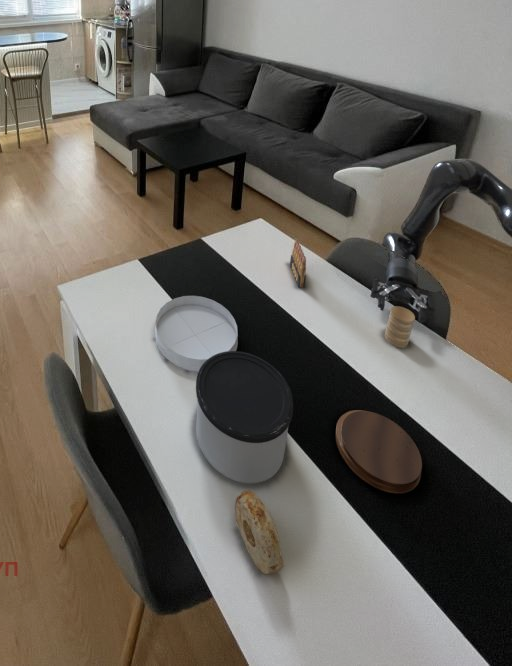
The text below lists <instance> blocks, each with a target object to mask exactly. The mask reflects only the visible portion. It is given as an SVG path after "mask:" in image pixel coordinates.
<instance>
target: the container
mask: <svg viewBox="0 0 512 666" xmlns="http://www.w3.org/2000/svg"><path fill="white" fill-rule="evenodd" d="M195 394H196V395H195V396H196V402H197V403H196V424H195V425H196V427H195V429H196V431H195V432H196V438H197V443H198V445H199V449H200V450H201V452H202V454H203V456H204V458H205V459H206V460H207V461H208V463H209V464H210V465H211V467H213V468H214V469H215V470H216V471H217V472H219V473H220V474H221V475H223V476H224V477H225V478H228V479H230V480H233V481H235V482H238V483H243V484H258V483H263V482H266V481H267V480H270V479H271V478H273V476H275V475H276V474H277V472H278V471H279V470H280V469H281V466H282V465H283V461H284V458H285V451H286V447H287V446H286V444H287V440H288V439H287V438H288V431H289V426H290V424H291V422H292V421H291V420H292V418H293V412H294V398H293V394H292V392H291V388H290V386H289V384H288V382H287V381H286V379H285V377H284V376H283V375H282V374H281V373H280V372H279V370H278V369H277V368H276V367H274V365H272V364H271V363H269V362H268V361H266V360H265V359H264V358H262V357H259V356H258V355H254V354H252V353H250V352H245V351H240V350H239V351H238V350H236V351H227V352H222V353H218V354H216V355H214V356H212V357H210V358H209V359H208V360H206V361H205V362H204V364H203V365H202V366H201V368H200V370H199V372H197V375H196V380H195Z"/></svg>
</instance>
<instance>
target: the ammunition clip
mask: <svg viewBox="0 0 512 666" xmlns="http://www.w3.org/2000/svg"><path fill="white" fill-rule="evenodd" d="M291 252H292V253H291V254H290V260H289V267H290V270H291V273H292V275H293V278H294V280H295V283H296V285H297V288H303V289H305V285H306V278H307V275H306V272H307V267H306V266H307V258H306V256H305V252H304V250H303V248H302V246H301V245H300V242H299V239H298V238H295V240H294V244H293V247H292V251H291Z"/></svg>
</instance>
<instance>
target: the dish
mask: <svg viewBox="0 0 512 666" xmlns="http://www.w3.org/2000/svg"><path fill="white" fill-rule="evenodd" d="M154 337H155V343H156V345H157V347H158V349H159V351H160V353H161V354H162V355H163V356H164V357H165V359H166V360H168V361H169V362H171V363H172V364H173V365H175V367H179V368H181V369H183V370H185V371H189V372H196V373H198V372H199V370H200V368H201V366H202V365H203V364H204V362H205V361H206V360H208V359H209V358H210V357H212V356H214V355H216V354H218V353H222V352H227V351H237V349H238V345H239V341H238V337H239V335H238V325H237V323H236V319H235V318H234V316H233V315H232V313H231V312H230V311H229V310H228V309H227V308H226V307H225V306H224V305H222V304H221V303H220V302H219V303H218V302H217V301H215V300H214V299H210V298H207V297H204V296H200V295H199V296H198V295H182V296H179V297H175V298H172V299H171V300H169V301H168V302H166V303H165V304H164V305H163V306H162V307H161V308H160V309H159V311H158V312H157V315H156V317H155V328H154Z"/></svg>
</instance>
